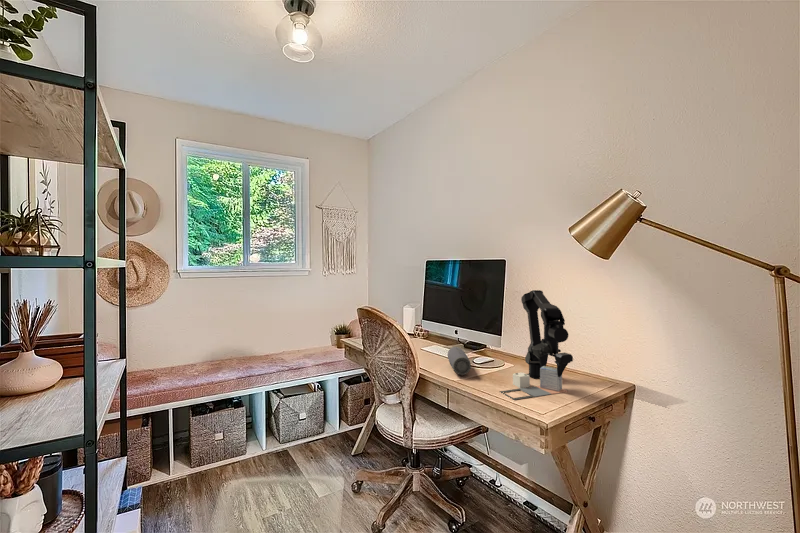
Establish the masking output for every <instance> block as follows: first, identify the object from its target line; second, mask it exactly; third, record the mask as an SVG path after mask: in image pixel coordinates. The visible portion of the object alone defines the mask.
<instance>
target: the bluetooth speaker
mask: <svg viewBox="0 0 800 533" xmlns="http://www.w3.org/2000/svg"><path fill="white" fill-rule="evenodd" d="M447 359H448V363H449V365H450V366H451V368H452V370H453V371H454V372H455V373H456V374H458V375H461V376H463V375H467V374H468V373H469V372H470V370H471V368H472V367H471V366H472V364H471V361H470V358H469V356H467V354H466V352H465V351H464V350H463V349H462V348H460V347H458V346H452V347H451V348H449V349H448V352H447Z"/></svg>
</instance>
